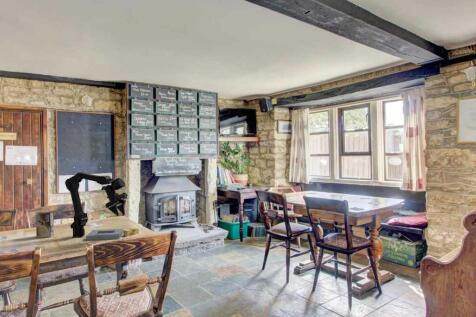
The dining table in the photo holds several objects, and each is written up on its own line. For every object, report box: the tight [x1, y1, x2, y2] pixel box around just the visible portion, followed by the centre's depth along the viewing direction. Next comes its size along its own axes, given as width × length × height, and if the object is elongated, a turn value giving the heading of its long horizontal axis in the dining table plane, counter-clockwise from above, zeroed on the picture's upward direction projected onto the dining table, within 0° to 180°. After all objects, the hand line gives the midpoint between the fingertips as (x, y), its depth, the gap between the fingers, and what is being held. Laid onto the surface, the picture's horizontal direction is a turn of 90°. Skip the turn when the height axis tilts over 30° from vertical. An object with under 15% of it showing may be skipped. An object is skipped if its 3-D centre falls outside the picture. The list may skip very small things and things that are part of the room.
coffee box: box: [35, 211, 55, 239], centre depth 215 cm, size 9×6×16 cm
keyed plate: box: [86, 228, 124, 241], centre depth 214 cm, size 20×16×3 cm
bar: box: [122, 227, 140, 237], centre depth 219 cm, size 9×4×4 cm, turn 145°
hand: (121, 215), depth 207 cm, fingers open, 9 cm apart
